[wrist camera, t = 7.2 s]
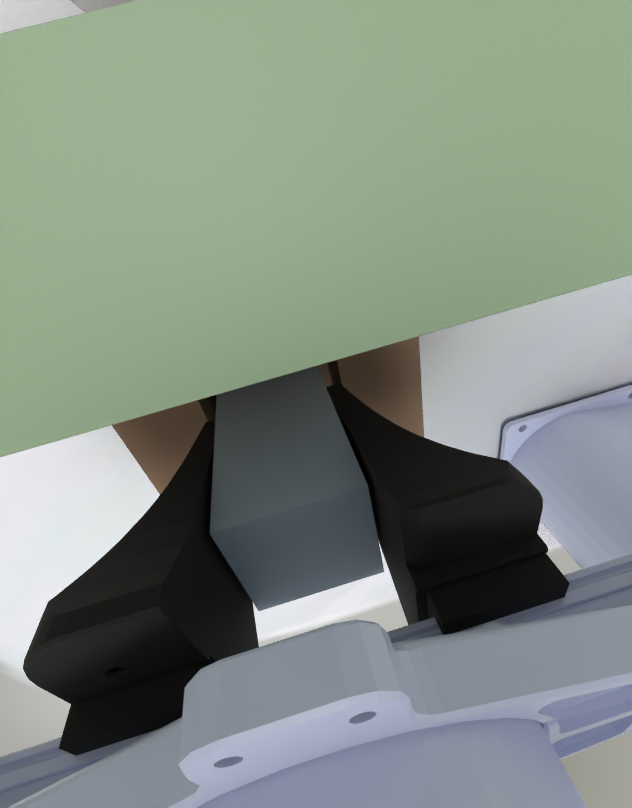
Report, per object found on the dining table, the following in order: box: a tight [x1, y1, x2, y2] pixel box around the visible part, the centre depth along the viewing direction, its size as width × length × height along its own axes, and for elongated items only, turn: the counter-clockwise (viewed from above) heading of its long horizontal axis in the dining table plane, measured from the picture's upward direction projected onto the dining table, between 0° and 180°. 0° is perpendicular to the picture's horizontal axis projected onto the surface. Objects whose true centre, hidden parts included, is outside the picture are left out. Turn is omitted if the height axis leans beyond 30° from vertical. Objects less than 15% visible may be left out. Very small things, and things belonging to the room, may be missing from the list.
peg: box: [210, 366, 384, 611], centre depth 12 cm, size 4×4×7 cm
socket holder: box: [0, 0, 632, 495], centre depth 12 cm, size 18×14×10 cm
